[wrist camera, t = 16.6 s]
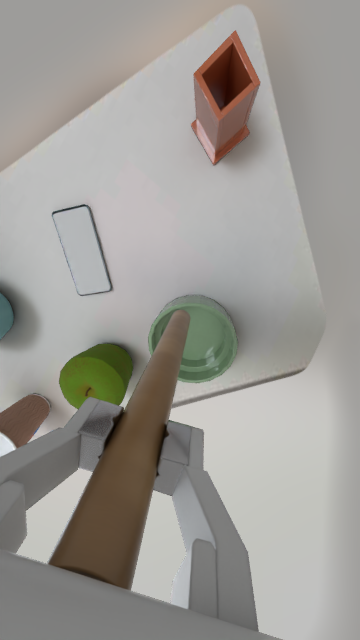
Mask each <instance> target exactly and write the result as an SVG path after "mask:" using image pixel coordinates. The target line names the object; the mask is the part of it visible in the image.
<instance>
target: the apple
mask: <svg viewBox="0 0 360 640" xmlns="http://www.w3.org/2000/svg"><path fill="white" fill-rule="evenodd" d="M132 371H133V364H132V359H131V357H130V356H129V355H128V353H127V352H126V351H125V350H124V349H122V348H120V347H119V346H116V345H112V344H98V345H96V346H94V347H92V348H90V349H88V350H86V351H84V352H82V353H80V354H78V355H76V356H75V357H73V358H71V359H70V360H69V361H68V362H67V363H66V365H65V366H64V367H63V369H62V370H61V372H60V379H59V384H60V387H61V390H62V393H63V395H64V397H65V398H66V399H67V401H68V402H69V403H70V405H72V406H74V407H75V408H77V409H79V408H80V407H81V405H82V404H83V403H84V402H85V400H86V399H87V398H89V397H93V398H96V399H99V400H103V401H106V402H109V403H112V404H115V405H118V406H119V405H120V404H121V403H122V401H123V399H124V396H125V393H126V390H127V387H128V383H129V380H130V378H131V376H132Z"/></svg>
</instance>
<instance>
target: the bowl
mask: <svg viewBox="0 0 360 640" xmlns="http://www.w3.org/2000/svg"><path fill="white" fill-rule="evenodd" d="M13 320H14V315H13V311H12V307H11V305H10V303H9V302H8V300H7V299H6V298H5V297H4V296H3V295H2V294H1V293H0V339H1V338H2V337H3V336H4V335H5V334H6V333H7V332H8V331H9V330H10V328H11V327H12V325H13Z"/></svg>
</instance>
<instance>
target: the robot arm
mask: <svg viewBox="0 0 360 640" xmlns="http://www.w3.org/2000/svg"><path fill="white" fill-rule="evenodd" d="M123 411H124V407H121V406H118V405H115V404H112V403H109V402H106V401H103V400H99V399H96V398H93V397H89V398H87V399H86V400H85V402H84V403H83V404H82V405H81V407H80V408H79V409H78V410H77V412H76V413H75V414H74V415H73V417H72V418H71V419H70V420H69V422H68V423H67V424H66V425H65V427H64V428H57V429H55V430H53V431H51V432H49V433H47V434H45V435H43V436H41V437H39V438H37V439H35V440H33V441H31V442H29V443H27V444H25V445H23V446H21V447H19V448H17V449H15V450H13V451H11V452H9V453H7V454H5V455H3V456H1V457H0V640H282V639H279V638H276V637H273V636H269V635H267V634H263V633H260V632H259V631H258V624H257V616H256V609H255V601H254V594H253V587H252V579H251V572H250V565H249V557H248V552H247V550H246V548H245V546H244V544H243V542H242V540H241V538H240V536H239V534H238V532H237V530H236V528H235V526H234V524H233V522H232V520H231V518H230V516H229V514H228V512H227V510H226V508H225V506H224V504H223V502H222V500H221V498H220V496H219V494H218V492H217V490H216V488H215V487H214V484H213V482H212V480H211V478H210V476H209V474H208V472H207V471H204V470H203V448H204V446H203V445H204V432H203V430H202V429H199V428H195V427H192V426H189V425H185V424H181V423H178V422H174V421H170V420H168V422H167V426H166V430H165V434H164V438H163V445H162V448H161V452H160V456H159V461H158V465H157V474H156V479H155V483H154V488H153V490H155V491H158V492H161V493H164V494H167V495H170V496H172V500H173V503H174V507H175V511H176V514H177V518H178V522H179V525H180V529H181V533H182V537H183V540H184V544H185V548H186V552H187V554H186V556H185V558H184V560H183V562H182V564H181V566H180V568H179V570H178V572H177V574H176V576H175V578H174V580H173V583H172V593H171V602H170V603H167V602H164V601H161V600H158V599H155V598H152V597H149V596H146V595H142V594H139V593H136V592H133V591H130V590H127V589H124V588H121V587H118V586H115V585H111V584H108V583H105V582H102V581H99V580H96V579H93V578H90V577H87V576H84V575H80V574H77V573H74V572H71V571H68V570H65V569H62V568H59V567H56V566H53V565H49V564H46V563H43V562H40V561H37V560H34V559H30V558H28V557H25V556H21V555H18V554H16V552H17V551H18V549H19V547H20V546H21V544H22V543H23V540H24V539H25V538H26V536H27V523H26V510H28V509H29V508H30V507H31V506H33V505H34V504H35V503H36V502H38V501H39V500H40V499H41V498H43V497H44V496H45V495H46V494H48V493H49V492H50V491H51V490H53V489H54V488H55V487H56V486H58V485H59V484H60V483H61V482H63V481H64V480H65V479H66V478H68V477H69V476H70V475H71V474H73V473H74V472H75V471H77V470H78V468H81V469H85V470H89V471H92V472H93V471H94V469H95V467H96V465H97V463H98V461H99V459H100V457H101V455H102V453H103V452H104V450H105V448H106V446H107V444H108V442H109V440H110V438H111V436H112V433H113V431H114V429H115V428H116V426H117V424H118V422H119V420H120V418H121V416H122V414H123Z"/></svg>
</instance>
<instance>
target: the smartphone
mask: <svg viewBox="0 0 360 640" xmlns="http://www.w3.org/2000/svg"><path fill="white" fill-rule="evenodd" d="M52 217H53V220H54V223H55V226H56V229H57V232H58V235H59V238H60V241H61V244H62V247H63V250H64V253H65V256H66V259H67V262H68V265H69V268H70V271H71V274H72V277H73V280H74V283H75V286H76V289H77V292H78V294H79V295H80V296H84V295H90V294H97V293H103V292H109V291H111V284H110V281H109V277H108V274H107V270H106V267H105V263H104V259H103V256H102V252H101V249H100V245H99V241H98V238H97V234H96V231H95V227H94V224H93V220H92V216H91V213H90V209H89V207H88V206H87V205H85V204H83V205H79V206H75V207H71V208H66V209H62V210H58V211H54V212H53V213H52Z"/></svg>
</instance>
